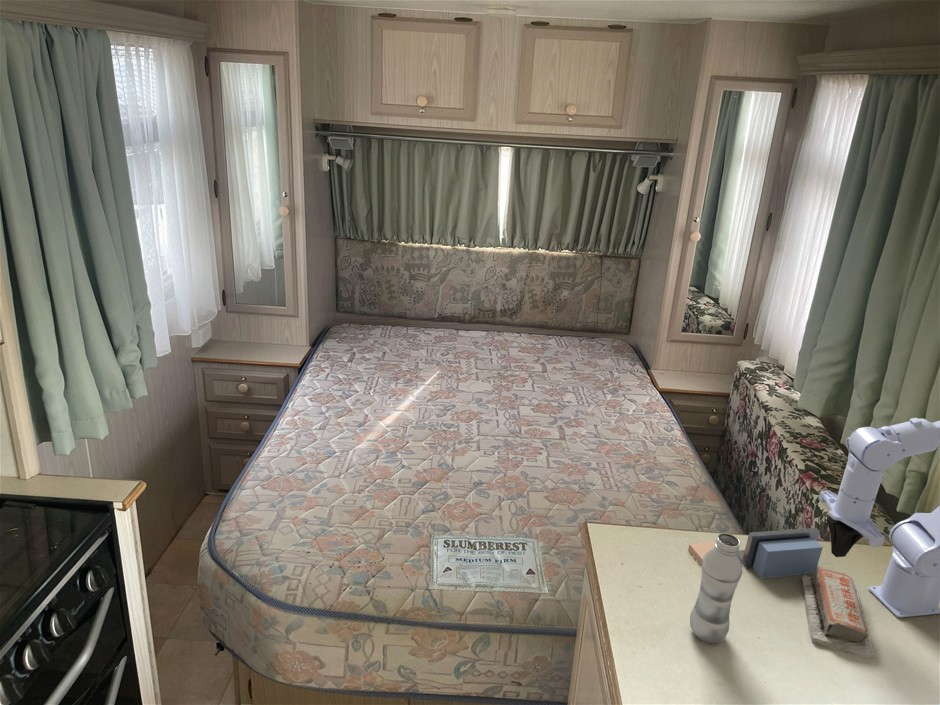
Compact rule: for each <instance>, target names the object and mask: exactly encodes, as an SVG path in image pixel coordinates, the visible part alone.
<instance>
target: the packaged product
mask: <svg viewBox="0 0 940 705" xmlns="http://www.w3.org/2000/svg"><path fill="white" fill-rule="evenodd" d="M811 576H812V577H810V576H808V575H802V579H801V584H802V588H803V599H804V607H805V613H806V615H805V616H806V620H807V621H806V622H807V625H808V630H809V632H808V633H809V636H810V640H811V642H812V644H817V645H820V646H823V647H826V648H827V647H828V648H830V649H835V650H838V651H841V652H846V653H849V654H853V655H856V656H859V657H863V658H867V659H874V657H875V652H874V650H873V645H872V642H871V638H870V634H869V631H868V627H867V623H866V620H865V616H864V615H863V614H864V613H863V612H864V611H863V609H862V605H861V601H860V597H859V593H858V589H856V586H855V583H854V580H853V578H852V577H851V576H849V575H847V574H846V573H844V572H839V571H835V570H831V569H828V568H823V567H817V568H816V570H815V573H814V574H812V575H811Z"/></svg>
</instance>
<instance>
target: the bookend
mask: <svg viewBox="0 0 940 705" xmlns="http://www.w3.org/2000/svg"><path fill="white" fill-rule="evenodd" d="M820 532H821V531H820V530H819V529H818V528H817V527H810V528H809V527H806V528H795V529H781V530H780V529H779V530H778V529H777V530H767V531H755V532H754V531H751V532H749V533H748V536H747V540H746V545H745V547H744V549H743V550H739V553H738V554H737V555H738V557H739V559H740V562H741V564H742V567H744V568H751V567H752V568H753V565H754V561H755V557H756V553H757V549H758V545H759V542H765V541H778V540H792V539H805V538H814V539H815V540H816V541H817V542H818V539H819V536H820Z"/></svg>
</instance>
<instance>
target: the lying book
mask: <svg viewBox="0 0 940 705" xmlns="http://www.w3.org/2000/svg"><path fill="white" fill-rule="evenodd" d="M715 542H716V540H715V541H704V542H697V543H689V545H688V553H690V554H692V555H693V556H694V557H693V556H692V555H691V556H692V557H693V558H694V560H695V561H696V560H697V561H696V562H697V563H698V564H699V566H701V567H702V561H703V557H704V556H705V554H706V553H707V552H708V551H709V550H711V549H713V548H715ZM737 556H738V555H737Z"/></svg>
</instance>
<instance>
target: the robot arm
mask: <svg viewBox="0 0 940 705" xmlns="http://www.w3.org/2000/svg"><path fill="white" fill-rule="evenodd" d="M939 445H940V420H937V421H934V422H931V421H929V420H927V419H925V418H919V417H912V418H909V421H904V422H902V423H895V424H892V425H884V426H881V427H880V428H879V427H878V428H875V427H871V426H863V427H860V428H859V427H858V428H857V429H855V430H854V431H853V432H852V433H851V434H850V435H849V437H846V439H845V446H846V448H847V450H848V456H847V459H848V460H847V463H846V465H845V469H844V472H843V476H842V480H841V482H840V485H839V486H840V487H839V490H838V493H837V494H835V493H834V492H832V491H831V490H822V491H821V490H820V493H819V497H818V501H819V502H820V503H825V504H826V505H827V506H828V508H829V512H828V514H827V515H828V516H827V517H826V522H827V525H828V529H829V531H830V532H829V533H830V534H829V535H830V546H831V548H830V551H831V554H832V555H833V556H834V557H835V558H842V557H843V558H844V557H846V556H847V554H848V553H849V551H850V550H851V549H852V548H853V546H854V545H855V544H856V543H857V542H858V541H859V540H861V539H862V538H865V539H866V540H867V541H868V545H869V546H870V547H871V548H878V547H883V545H884V541H885V538H886V537H885V536H884V535H883V533H881V532H880V531H879V528H878V527H877V526H876V524H875V523H874V521H873V519H872V518H871V517H870V516H871V513H872V512H873V511H872V510H873V508H874V504H875V501H876V498H877V494H878V492H879V490H880V489H879V488H880V485H881V482H882V479H883V477H884V473H885V471H886V470H888V469H890V468H892V467H893V466H894V465H895V464H896V463H897V462H901V460H903V459H904V458H908V457H912V456H917V455H920V454H925V453H931V452H934V451H936V450H937V449H938V447H939ZM888 538H889V541H890V543H891V544H892V545H893V546H892V548H891V552H892V555H891V557H890V561H889V562H888V567H887V570H886V573H885V575H884V577H883V580H882V584H881V585H874V586H872V585H871V586H868V590H869V591H870V592H871V593H872V594H873V595H874V596H875V597H876V598H877V599H878V600H879V601H880V602H881V603H882V605H884V606H885V607H887V609H888V610H890V611H891V613H893V614H894V615H895V617H897V618H908V617H918V616H929V615H937V614H940V608H939V605H940V505H939V506H937V507H936V508H935V509H934V510H932V511H931V512H915V513H913V514H912V515H911V516H910V517H908V518H907V519H903V520H902V521H899V522H897V523H896V524H894V526H893V527H892V528H891V529H890V531H889V536H888Z"/></svg>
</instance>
